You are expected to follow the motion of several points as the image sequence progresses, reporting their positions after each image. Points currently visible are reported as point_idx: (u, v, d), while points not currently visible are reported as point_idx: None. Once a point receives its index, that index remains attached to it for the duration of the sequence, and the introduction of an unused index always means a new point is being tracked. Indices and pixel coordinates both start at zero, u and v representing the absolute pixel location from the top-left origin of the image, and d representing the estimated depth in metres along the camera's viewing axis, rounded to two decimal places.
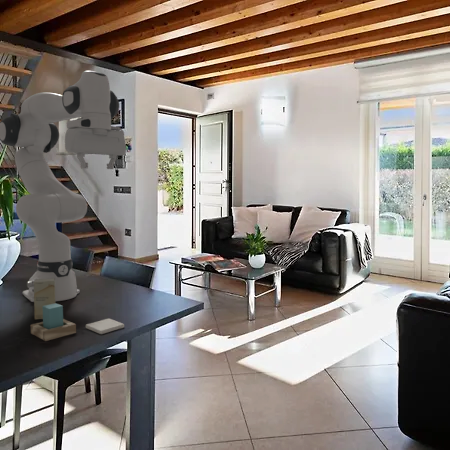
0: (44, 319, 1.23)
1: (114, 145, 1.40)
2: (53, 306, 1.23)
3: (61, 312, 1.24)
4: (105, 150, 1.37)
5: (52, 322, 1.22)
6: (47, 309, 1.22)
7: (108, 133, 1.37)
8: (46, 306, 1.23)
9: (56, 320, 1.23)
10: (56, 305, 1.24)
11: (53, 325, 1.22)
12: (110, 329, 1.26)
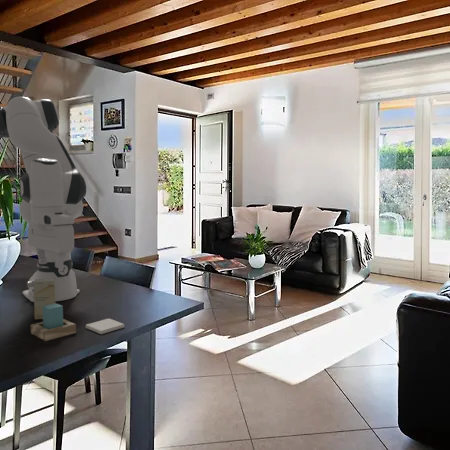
0: (44, 319, 1.23)
1: None
2: (53, 306, 1.23)
3: (61, 312, 1.24)
4: None
5: (52, 322, 1.22)
6: (47, 309, 1.22)
7: None
8: (46, 306, 1.23)
9: (56, 320, 1.23)
10: (56, 305, 1.24)
11: (53, 325, 1.22)
12: (110, 329, 1.26)
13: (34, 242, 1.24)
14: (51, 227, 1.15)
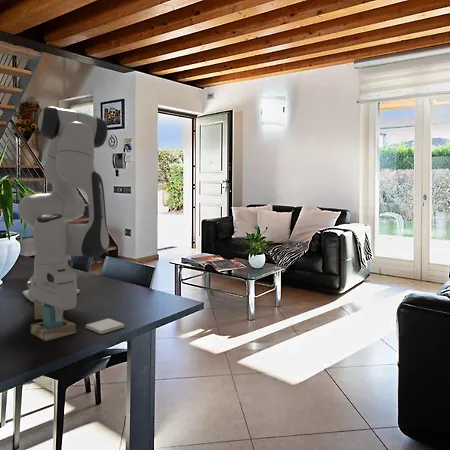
0: (44, 319, 1.23)
1: None
2: None
3: None
4: None
5: (52, 322, 1.22)
6: (47, 309, 1.22)
7: None
8: (46, 306, 1.23)
9: None
10: None
11: (53, 325, 1.22)
12: (110, 329, 1.26)
13: (37, 294, 1.26)
14: (54, 285, 1.17)
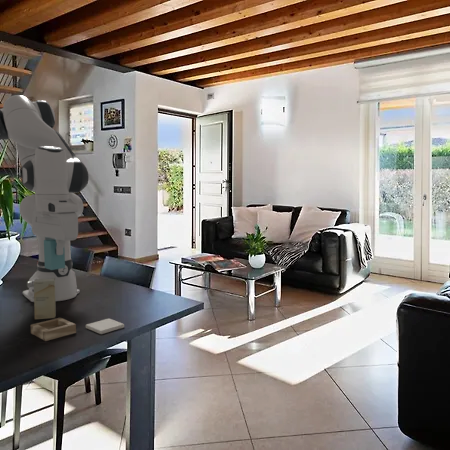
0: (46, 253, 1.22)
1: None
2: (55, 240, 1.22)
3: None
4: None
5: (54, 256, 1.20)
6: (48, 242, 1.20)
7: None
8: (47, 240, 1.22)
9: None
10: None
11: (54, 259, 1.21)
12: (110, 329, 1.26)
13: (38, 230, 1.24)
14: (55, 215, 1.15)
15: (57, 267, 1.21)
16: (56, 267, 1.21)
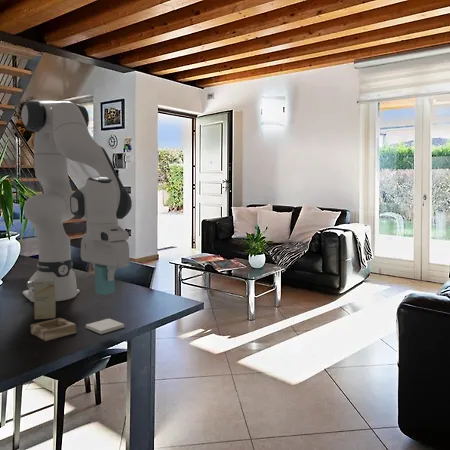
0: (97, 279, 1.27)
1: None
2: (105, 266, 1.27)
3: None
4: None
5: (105, 282, 1.26)
6: (99, 269, 1.25)
7: None
8: (98, 266, 1.27)
9: None
10: None
11: (105, 284, 1.26)
12: (110, 329, 1.26)
13: (87, 256, 1.29)
14: (108, 243, 1.20)
15: (108, 292, 1.26)
16: (107, 292, 1.26)
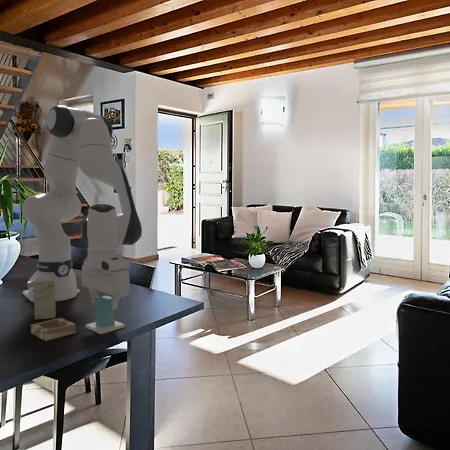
0: (97, 310, 1.28)
1: None
2: (105, 298, 1.28)
3: None
4: None
5: (105, 314, 1.27)
6: (100, 301, 1.26)
7: None
8: (98, 298, 1.28)
9: (108, 312, 1.27)
10: (108, 297, 1.29)
11: (106, 317, 1.27)
12: (110, 329, 1.26)
13: (88, 282, 1.30)
14: (108, 272, 1.21)
15: (108, 324, 1.28)
16: (107, 324, 1.27)
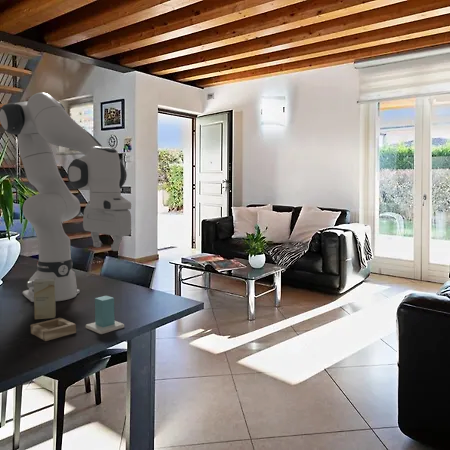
0: (97, 310, 1.28)
1: None
2: (105, 298, 1.28)
3: (113, 304, 1.28)
4: None
5: (105, 314, 1.27)
6: (100, 301, 1.26)
7: None
8: (98, 298, 1.28)
9: (108, 312, 1.27)
10: (108, 297, 1.29)
11: (106, 317, 1.27)
12: (110, 329, 1.26)
13: (90, 226, 1.30)
14: (110, 212, 1.21)
15: (108, 324, 1.28)
16: (107, 324, 1.27)
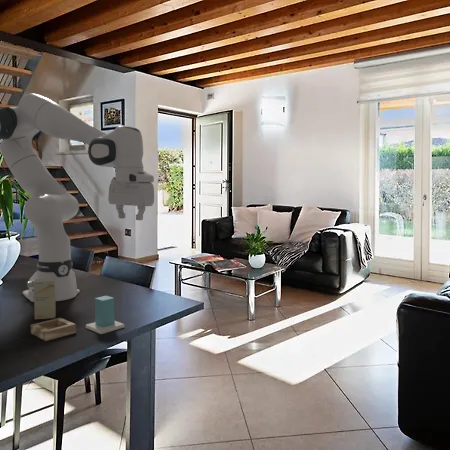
0: (97, 310, 1.28)
1: None
2: (105, 298, 1.28)
3: (113, 304, 1.28)
4: None
5: (105, 314, 1.27)
6: (100, 301, 1.26)
7: None
8: (98, 298, 1.28)
9: (108, 312, 1.27)
10: (108, 297, 1.29)
11: (106, 317, 1.27)
12: (110, 329, 1.26)
13: (115, 199, 1.44)
14: (135, 184, 1.34)
15: (108, 324, 1.28)
16: (107, 324, 1.27)
